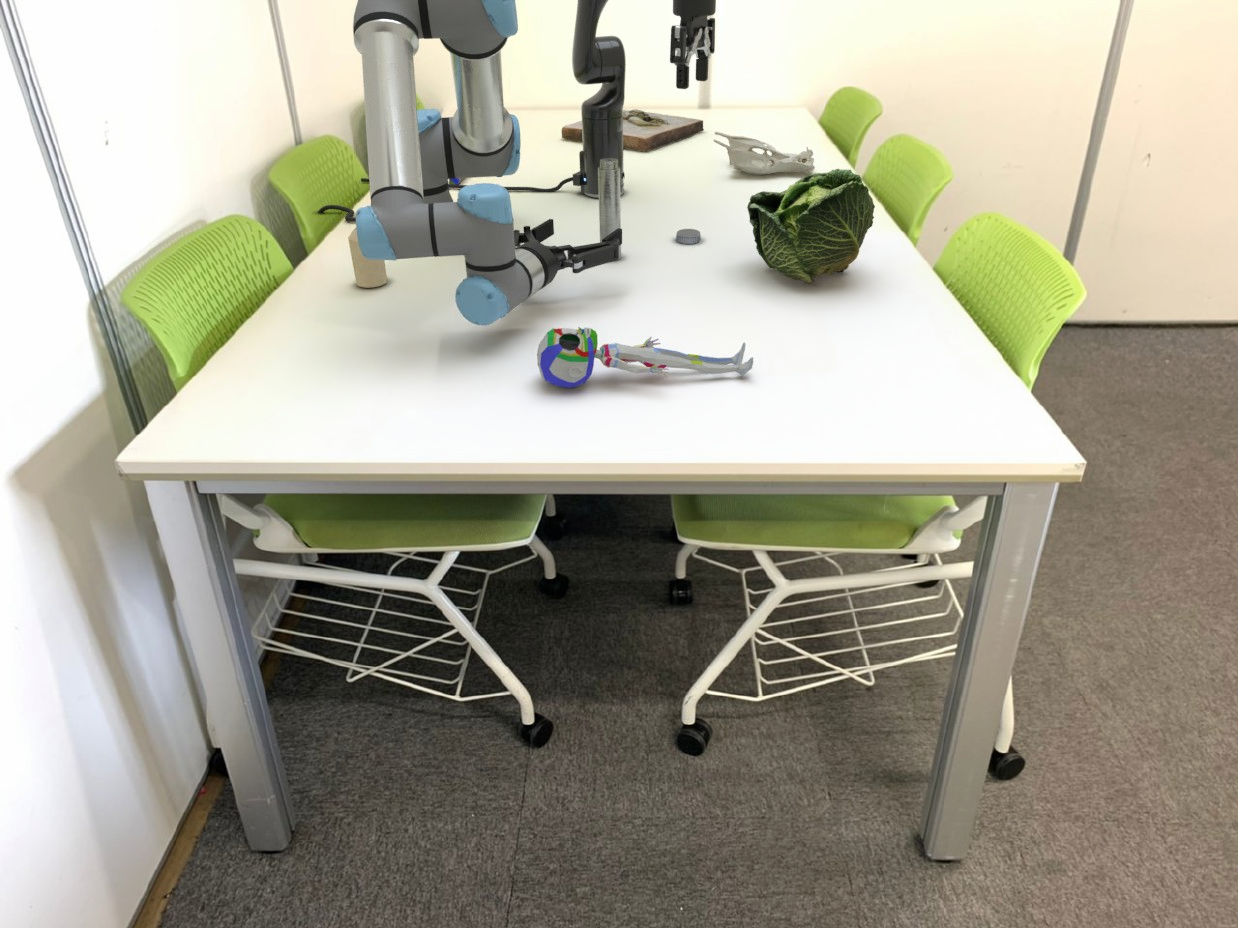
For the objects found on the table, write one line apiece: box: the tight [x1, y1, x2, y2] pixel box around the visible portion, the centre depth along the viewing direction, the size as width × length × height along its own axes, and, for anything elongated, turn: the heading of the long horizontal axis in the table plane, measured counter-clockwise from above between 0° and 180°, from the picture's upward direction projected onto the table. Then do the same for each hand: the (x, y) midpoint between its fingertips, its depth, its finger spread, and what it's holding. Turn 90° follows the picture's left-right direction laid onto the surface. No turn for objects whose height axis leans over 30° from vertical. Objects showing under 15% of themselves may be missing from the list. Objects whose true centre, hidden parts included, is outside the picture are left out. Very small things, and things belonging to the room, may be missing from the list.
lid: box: [675, 228, 701, 245], centre depth 179 cm, size 5×5×2 cm
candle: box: [347, 227, 388, 289], centre depth 159 cm, size 6×6×10 cm
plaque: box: [561, 108, 705, 152], centre depth 257 cm, size 30×7×30 cm
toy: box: [536, 326, 754, 389], centre depth 127 cm, size 10×8×30 cm
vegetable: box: [746, 168, 876, 284], centre depth 158 cm, size 20×19×20 cm
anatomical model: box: [713, 131, 815, 176], centre depth 221 cm, size 15×9×25 cm
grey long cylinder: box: [598, 158, 622, 262], centre depth 167 cm, size 4×4×18 cm
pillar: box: [448, 178, 465, 185], centre depth 225 cm, size 2×2×20 cm
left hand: (585, 231), depth 159 cm, fingers open, 13 cm apart
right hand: (692, 84), depth 164 cm, fingers open, 8 cm apart
